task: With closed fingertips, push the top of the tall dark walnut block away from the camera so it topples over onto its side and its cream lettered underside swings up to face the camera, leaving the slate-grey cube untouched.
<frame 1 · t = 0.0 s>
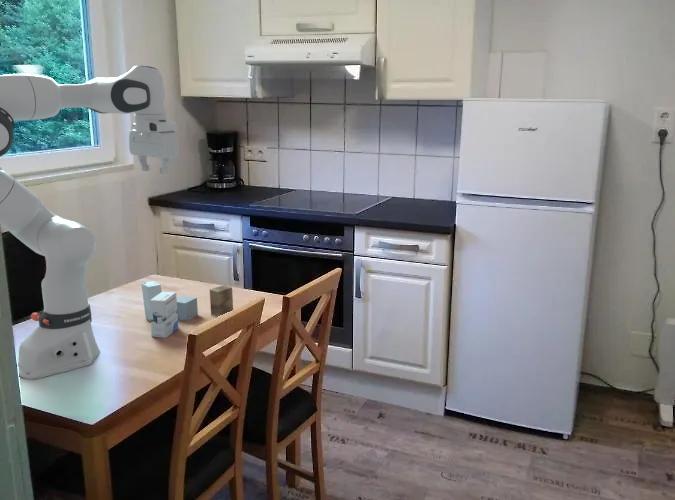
hand: (154, 172, 186), 48 cm above the table, tool pointing down, fingers open, 8 cm apart
skincare box: (154, 320, 202), on the table
ink box: (165, 333, 192), on the table
walnut block: (222, 314, 207), on the table
slate block: (184, 316, 205), on the table
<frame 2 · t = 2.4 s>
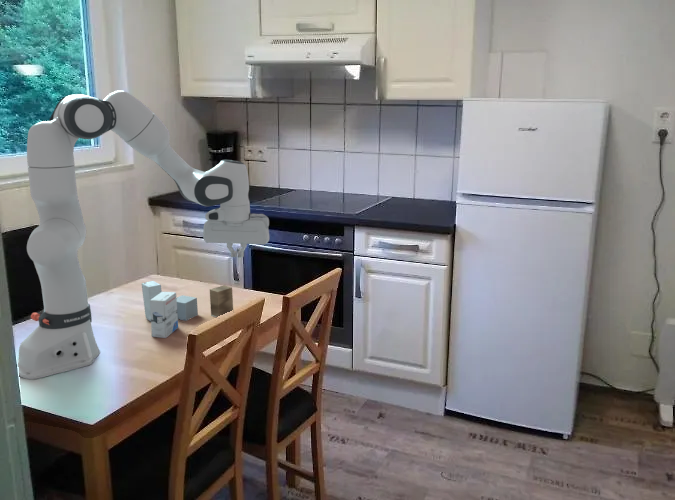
hand: (237, 257, 196), 21 cm above the table, tool pointing down, fingers closed
nothing on the table moved.
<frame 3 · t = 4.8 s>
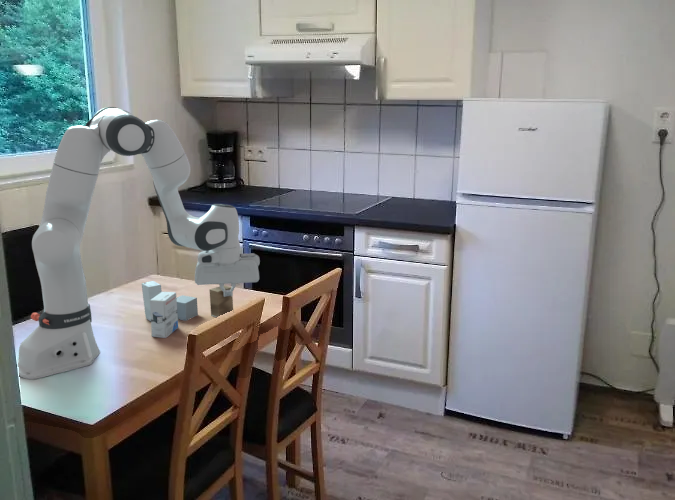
hand: (228, 296, 202), 7 cm above the table, tool pointing down, fingers closed
walnut block: (222, 314, 207), on the table, touching gripper
everything else where it was.
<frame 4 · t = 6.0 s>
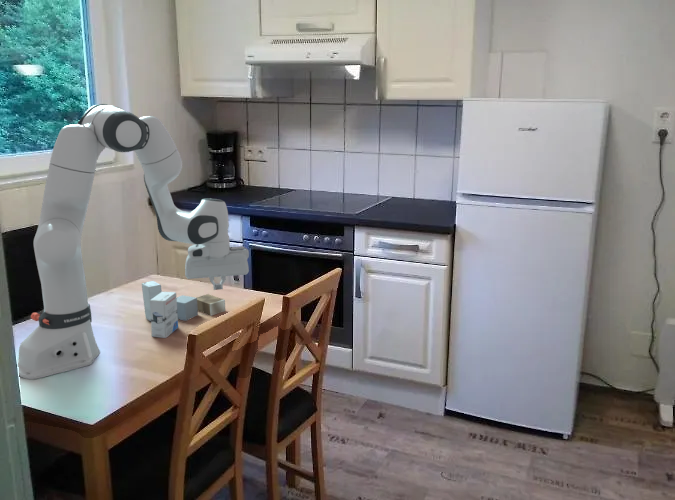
hand: (218, 289, 205), 8 cm above the table, tool pointing down, fingers closed
walnut block: (218, 307, 207), point 2 cm above the table, tilted 90°
everything else where it was.
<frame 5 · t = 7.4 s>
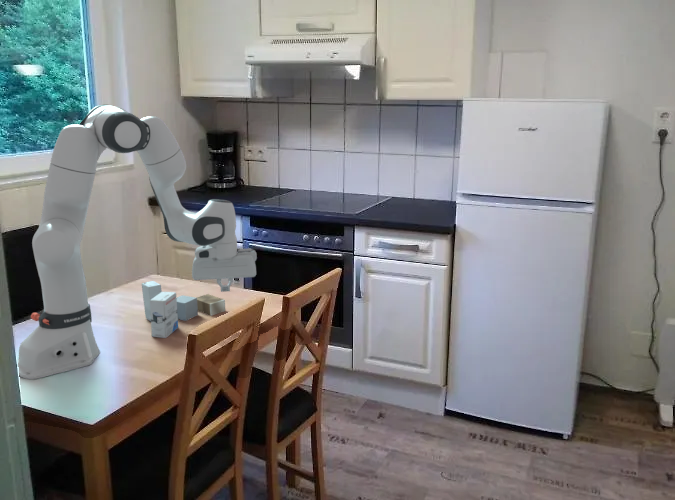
hand: (225, 291, 203), 8 cm above the table, tool pointing down, fingers closed
nothing on the table moved.
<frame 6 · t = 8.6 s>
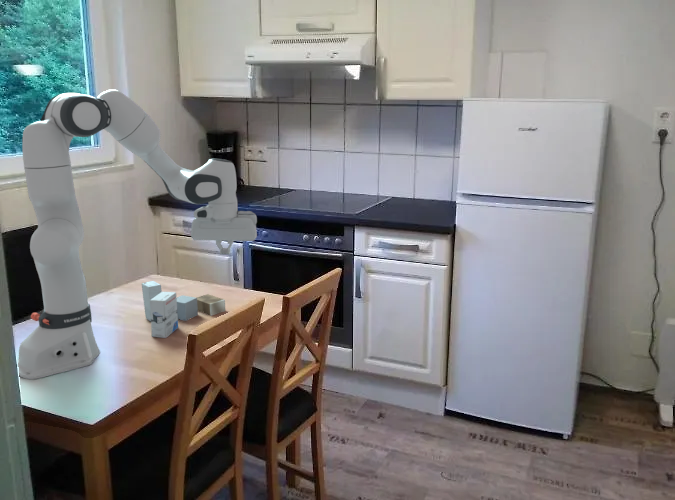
hand: (225, 254, 199), 21 cm above the table, tool pointing down, fingers closed
nothing on the table moved.
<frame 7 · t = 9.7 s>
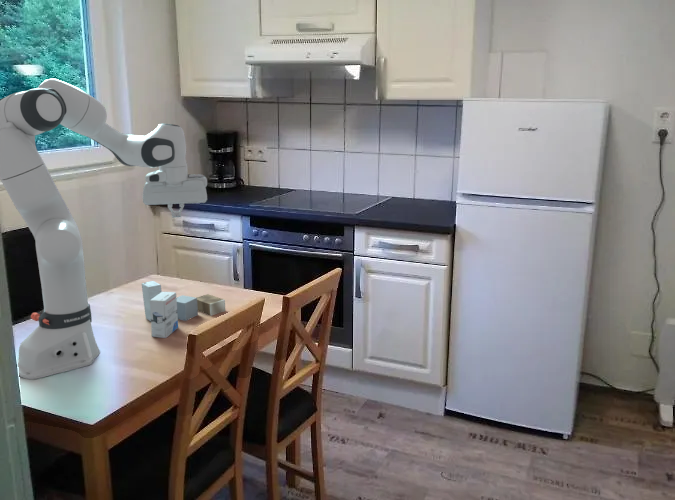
hand: (176, 217, 206), 31 cm above the table, tool pointing down, fingers closed
nothing on the table moved.
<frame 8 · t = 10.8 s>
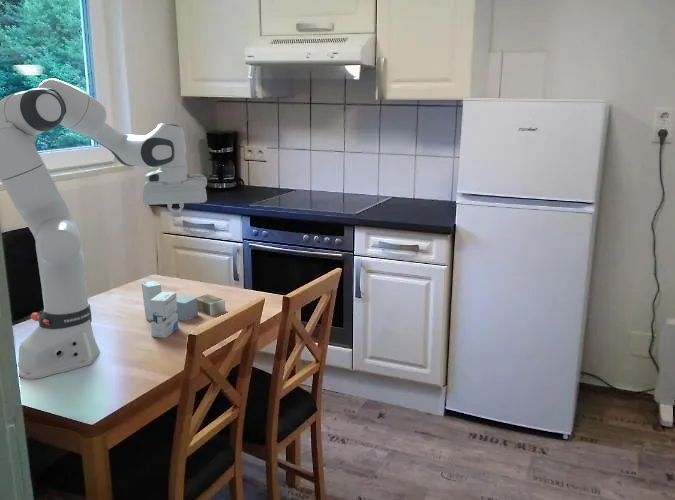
hand: (176, 216, 206), 31 cm above the table, tool pointing down, fingers closed
nothing on the table moved.
at the end: walnut block tilted 90°; walnut block inside the target area (1.0 cm from its centre), point 1.9 cm above the table; walnut block touching table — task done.
